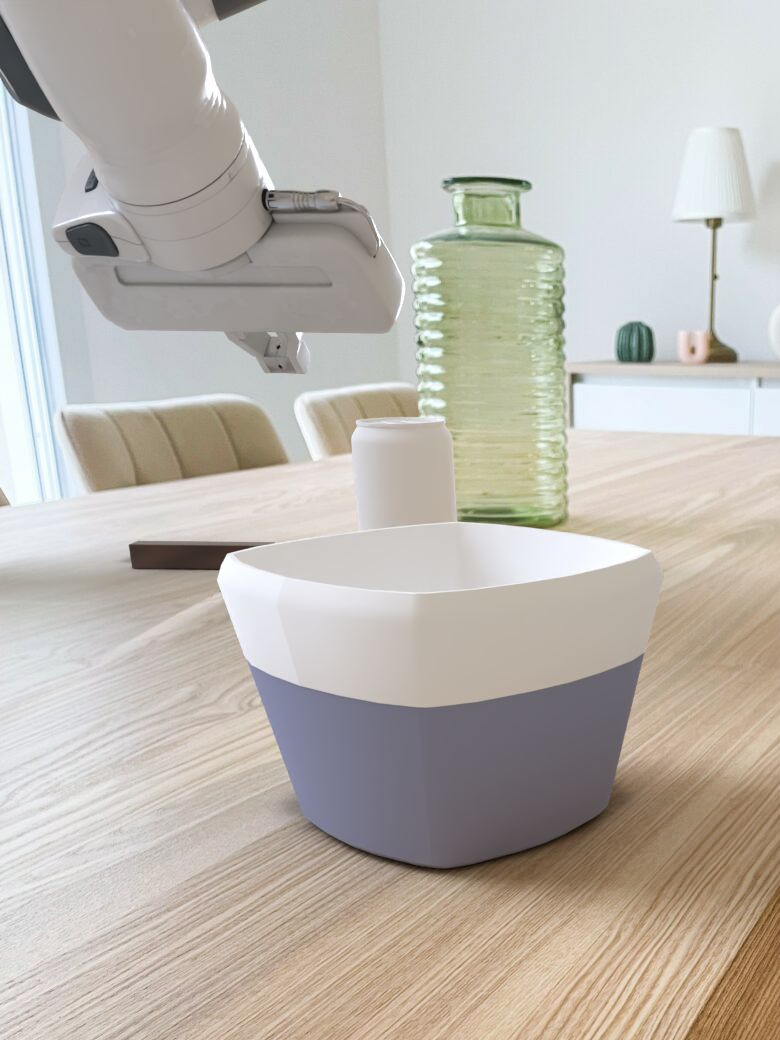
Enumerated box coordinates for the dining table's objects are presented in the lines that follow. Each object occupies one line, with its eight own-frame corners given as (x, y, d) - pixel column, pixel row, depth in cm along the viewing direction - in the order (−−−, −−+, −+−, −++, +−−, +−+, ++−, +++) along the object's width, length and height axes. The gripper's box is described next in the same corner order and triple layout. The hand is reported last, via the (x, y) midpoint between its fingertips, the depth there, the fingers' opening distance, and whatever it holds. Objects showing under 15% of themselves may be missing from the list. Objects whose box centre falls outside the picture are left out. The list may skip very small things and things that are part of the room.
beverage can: (381, 583, 104) (369, 425, 99) (348, 567, 110) (335, 418, 106) (475, 574, 108) (467, 421, 103) (437, 559, 114) (429, 415, 109)
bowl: (708, 810, 56) (713, 550, 52) (431, 922, 46) (409, 608, 42) (474, 738, 66) (462, 513, 62) (200, 818, 55) (162, 554, 51)
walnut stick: (131, 568, 110) (128, 544, 109) (141, 564, 112) (137, 540, 111) (271, 569, 109) (269, 545, 108) (279, 565, 111) (276, 542, 110)
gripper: (373, 151, 75) (443, 332, 88) (59, 156, 79) (169, 328, 92) (346, 232, 73) (422, 406, 85) (24, 233, 77) (142, 399, 89)
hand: (289, 366), depth 88 cm, fingers closed
